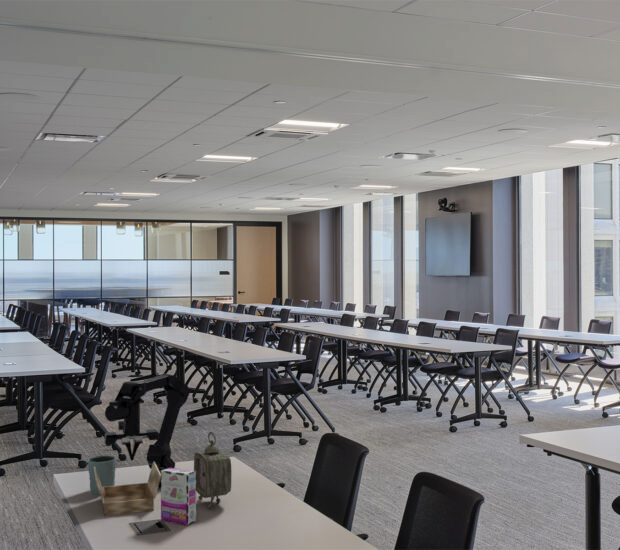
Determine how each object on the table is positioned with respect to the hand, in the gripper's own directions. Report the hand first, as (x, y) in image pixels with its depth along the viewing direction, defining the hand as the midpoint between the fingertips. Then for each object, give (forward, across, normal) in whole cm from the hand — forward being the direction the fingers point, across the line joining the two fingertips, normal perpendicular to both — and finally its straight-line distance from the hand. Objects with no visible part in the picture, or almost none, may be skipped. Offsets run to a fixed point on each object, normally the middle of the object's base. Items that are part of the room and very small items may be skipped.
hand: (131, 460), depth 267 cm
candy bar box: (+13, -12, +32) cm, 37 cm away
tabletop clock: (+13, -26, +18) cm, 34 cm away
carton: (+13, +2, +9) cm, 16 cm away
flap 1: (+5, +12, +9) cm, 16 cm away
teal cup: (+13, +10, -10) cm, 19 cm away
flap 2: (+5, -7, +9) cm, 12 cm away
